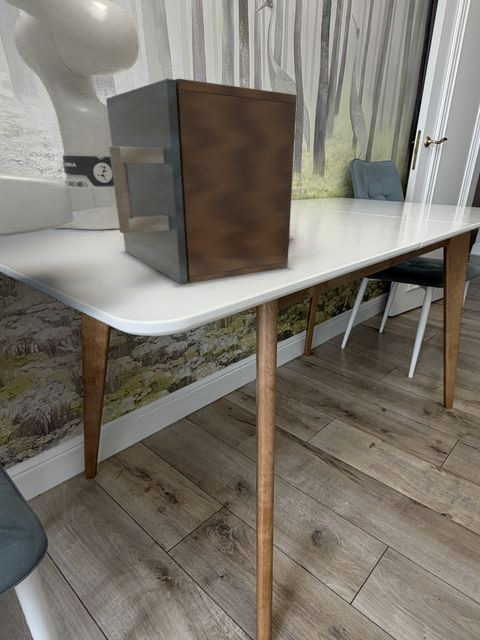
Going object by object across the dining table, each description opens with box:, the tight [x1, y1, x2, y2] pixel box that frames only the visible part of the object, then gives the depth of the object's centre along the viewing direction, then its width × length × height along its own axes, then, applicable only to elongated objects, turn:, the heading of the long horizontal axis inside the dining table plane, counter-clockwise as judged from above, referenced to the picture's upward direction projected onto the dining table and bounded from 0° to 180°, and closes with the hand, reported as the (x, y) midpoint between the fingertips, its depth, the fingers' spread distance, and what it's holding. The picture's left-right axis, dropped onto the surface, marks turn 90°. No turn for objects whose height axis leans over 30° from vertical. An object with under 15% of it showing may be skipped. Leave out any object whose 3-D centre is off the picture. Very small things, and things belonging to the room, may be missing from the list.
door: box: [105, 78, 189, 285], centre depth 52 cm, size 7×22×22 cm, turn 35°
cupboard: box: [174, 78, 298, 284], centre depth 58 cm, size 16×22×22 cm
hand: (98, 192), depth 43 cm, fingers open, 8 cm apart
